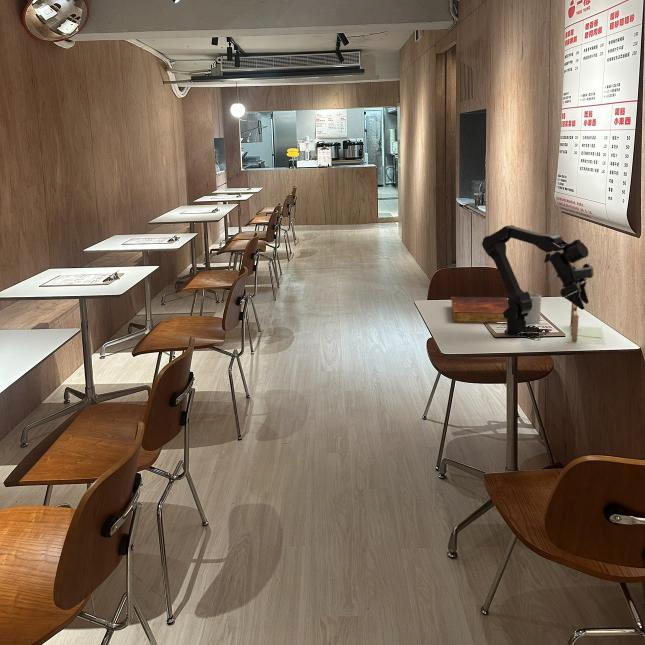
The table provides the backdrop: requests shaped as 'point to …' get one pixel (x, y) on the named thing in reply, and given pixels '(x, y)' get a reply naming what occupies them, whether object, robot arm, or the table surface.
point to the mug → (534, 309)
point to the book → (479, 309)
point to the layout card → (586, 335)
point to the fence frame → (574, 308)
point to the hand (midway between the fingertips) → (585, 306)
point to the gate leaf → (575, 326)
